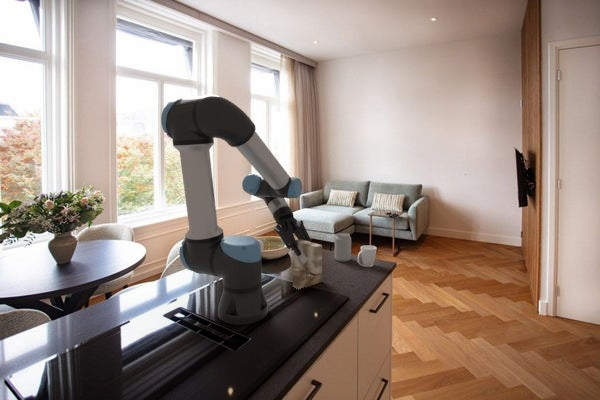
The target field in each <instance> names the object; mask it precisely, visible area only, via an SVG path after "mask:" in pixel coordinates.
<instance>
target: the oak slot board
mask: <svg viewBox="0 0 600 400" xmlns="http://www.w3.org/2000/svg"><path fill="white" fill-rule="evenodd" d="M308 272H309V271H308ZM322 282H323V271H322V272H321V273H318V274H314V273H312V272H309V273H308V274H307V271H306V269H305V268H302V267H295V268H292V288H293V287H294V288H293V289H295V288H296V289H295V290H297V289H298V290H297V291H299V289H300V290H302V289H301V288H303V289H305V288H308V287H312V286H314V285H317V284H319V283H322ZM304 287H305V288H304Z"/></svg>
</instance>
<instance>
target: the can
mask: <svg viewBox="0 0 600 400" xmlns="http://www.w3.org/2000/svg"><path fill="white" fill-rule="evenodd" d="M335 235H336V236H334V259H335V260H336V261H338V262H341V263H342V262H343V263H344V262H349V261H350V260H351V259H352V237H351V236H350V235H351V234H350V233H347V232H338V233H336V234H335Z"/></svg>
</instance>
